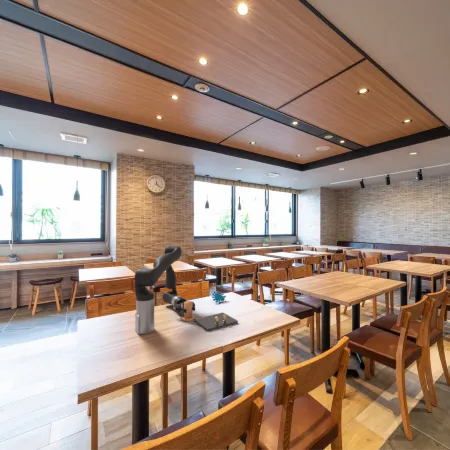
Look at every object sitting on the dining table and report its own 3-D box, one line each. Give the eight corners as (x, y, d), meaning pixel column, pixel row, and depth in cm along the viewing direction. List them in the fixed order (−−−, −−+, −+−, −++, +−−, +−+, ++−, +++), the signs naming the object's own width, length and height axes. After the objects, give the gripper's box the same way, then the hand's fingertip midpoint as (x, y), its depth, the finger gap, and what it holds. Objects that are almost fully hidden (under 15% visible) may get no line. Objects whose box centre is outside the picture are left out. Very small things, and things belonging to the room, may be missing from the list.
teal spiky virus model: (213, 302, 172) (211, 290, 178) (210, 306, 175) (208, 294, 182) (227, 302, 176) (225, 290, 183) (224, 306, 179) (222, 294, 186)
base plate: (207, 331, 128) (207, 321, 128) (194, 321, 142) (194, 312, 142) (237, 323, 139) (237, 313, 139) (222, 314, 153) (222, 306, 153)
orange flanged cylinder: (185, 322, 141) (184, 305, 141) (179, 318, 147) (179, 301, 147) (196, 319, 145) (196, 302, 145) (191, 315, 152) (191, 299, 151)
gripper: (168, 298, 154) (178, 306, 140) (189, 295, 162) (200, 301, 148) (168, 310, 154) (178, 319, 140) (189, 306, 162) (200, 314, 148)
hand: (190, 310), depth 144 cm, fingers closed on orange flanged cylinder, 5 cm apart
